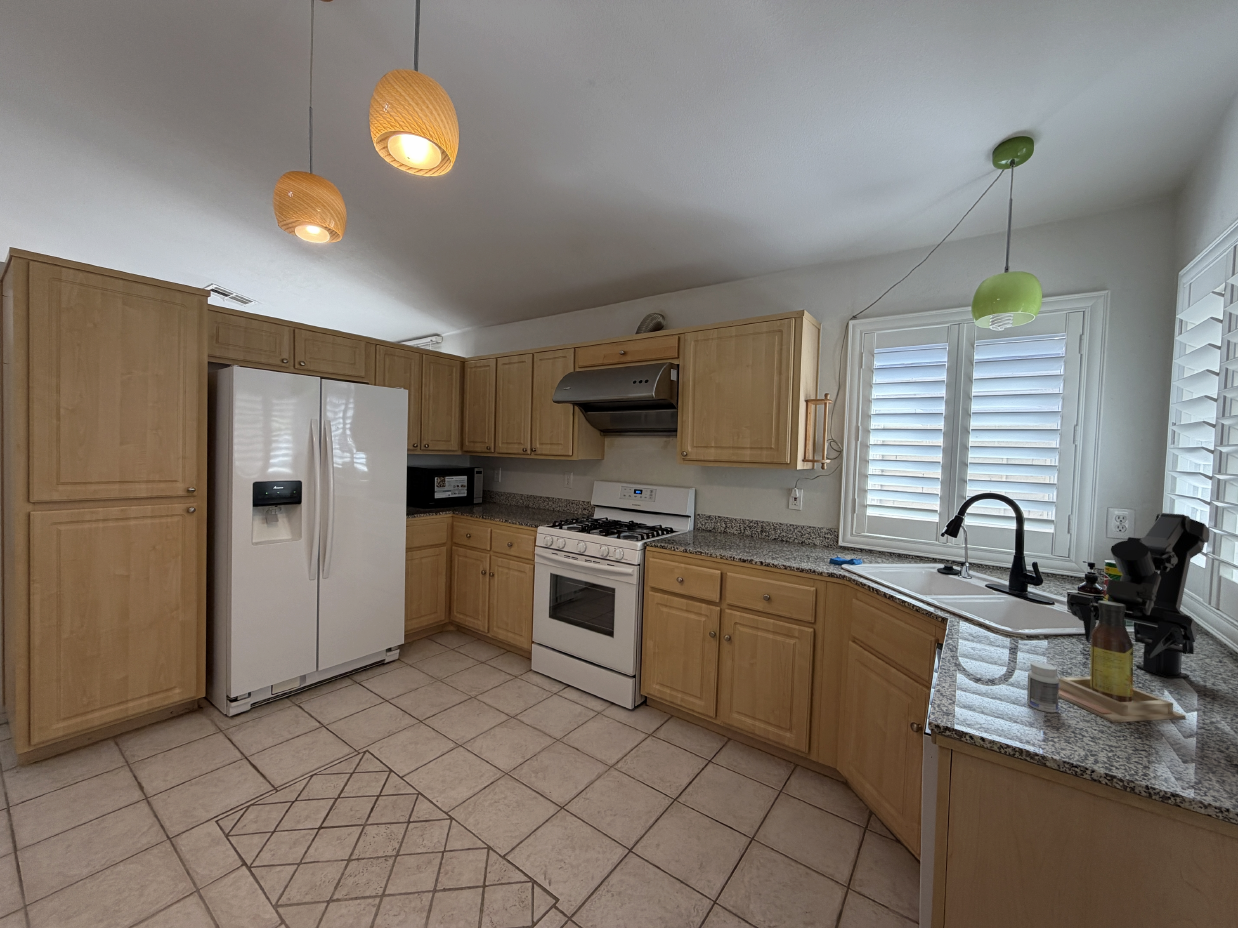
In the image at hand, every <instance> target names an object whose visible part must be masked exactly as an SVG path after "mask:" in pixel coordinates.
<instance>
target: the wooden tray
mask: <svg viewBox="0 0 1238 928" xmlns="http://www.w3.org/2000/svg"><path fill="white" fill-rule="evenodd" d="M1057 678H1058V680H1059V698H1060V699H1061V700H1064V701H1066V702H1068V703H1070V704H1073V705H1075V706H1077V707H1079V708H1081V709H1084V710H1086V711H1088V712H1090V713H1092V714H1094V715H1096V716H1098V717H1101V718H1103V719H1105V720H1106V721H1110V722H1111V723H1125V722H1128V723H1129V722H1142V721H1143V722H1145V721H1158V720H1175V719H1177V720H1178V719H1186V714H1183V713H1180V712H1177V711H1175V710H1174V702H1171V701H1169V700H1167V699H1163V698H1161V697H1159V696H1156V695H1154V694H1151V693H1148V692H1145V691H1143V690H1141V689H1138V688H1135V687H1133V696H1132V702H1119V701H1116V700H1114V699H1111V698H1109V697H1107V696H1104V695H1102V694H1100V693H1097V692H1095V691H1093V690H1091V688H1092V687H1091V686H1090V676H1068V677H1057Z"/></svg>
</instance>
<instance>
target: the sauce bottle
mask: <svg viewBox="0 0 1238 928" xmlns="http://www.w3.org/2000/svg"><path fill="white" fill-rule="evenodd" d="M1097 604H1098V608H1099V614H1098V622H1097V624H1096V626H1095V628H1094V629H1093V630H1092V633H1091V641H1090V642H1091V643H1090V674H1089V675H1090V676H1089V677H1090V686H1091V687H1092V688H1091V690H1093V691H1095V692H1097V693H1100V694H1102V695H1104V696H1107V697H1109V698H1111V699H1114V700H1116V701H1119V702H1132V696H1133V688H1134V644H1133V642H1132V639H1131V636H1130V635H1129V632H1128V629H1127V628H1126V624H1125V620H1124V613H1125V611H1126V606H1125V605H1124V604H1121V603H1116V602H1110V601H1108V600H1098V601H1097Z"/></svg>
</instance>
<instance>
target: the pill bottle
mask: <svg viewBox="0 0 1238 928" xmlns="http://www.w3.org/2000/svg"><path fill="white" fill-rule="evenodd" d="M1029 666H1030V671H1028V672H1027V688H1026V689H1027V690H1026V693H1027V695H1026V700H1027V701H1026V702H1027V704H1028V705H1029V706H1030V707H1031V708H1034V709H1036V710H1039V711H1042V712H1047V713H1057V712H1058V711H1059V700H1060V699H1059V698H1060V697H1059V680H1058V678H1059V677H1057V675H1058V668H1057V667H1056V666H1055V665H1052V664H1050V663H1045V662H1042V661H1040V662H1039V661H1031V662H1030V665H1029Z"/></svg>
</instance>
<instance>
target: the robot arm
mask: <svg viewBox="0 0 1238 928" xmlns="http://www.w3.org/2000/svg"><path fill="white" fill-rule="evenodd" d="M1209 541H1210V530H1209V528H1208V527H1207V525H1206V523H1204V522H1201V521H1199V520H1196V519H1192V518H1191V517H1190V516H1189V515H1186V514H1181V513H1167V512H1161V513H1157V515H1156V517H1155V519H1154V523H1153V524H1152V526H1151V527H1150V528H1149V529H1148V531H1147V533H1146V534H1145V535H1144V537H1133V536H1132V537H1131V536H1129V537H1127V540H1123V541H1122V540H1121V541H1118V542H1116V543H1115V544H1113V545H1111V548H1110V553H1111V556H1112V557H1113V561H1114V563H1115V567H1116V569H1117V571H1118V572H1119V573H1121V576H1120V579H1119V580H1116V579H1111V578H1110V579H1107V582H1106V589H1105V595H1107V600H1106V601H1110V602H1116V603H1121V604H1124V605H1125V606H1126V611H1125V613H1124V621H1128V622H1133V633H1134V634H1133V635H1134V643H1137V644H1139V643H1140V644H1143V646H1144V647H1143V652H1142V653H1143V656H1142V657H1143V658H1142V663H1141V664H1140V663H1139V664H1135V667H1136V668H1138V669H1141V670H1143V671H1146V672H1150V673H1153V674H1156V675H1159V676H1161V677H1164V678H1167V679H1179V678H1182V679H1183V678H1190V674H1188V673H1184V672H1182V662H1183V661H1182V658H1183V656H1182V655H1195V643H1196V641H1197V637H1198V629H1197V627H1196V622H1195V620H1194V618H1193V617H1192V616H1191V615H1186V614H1181V612H1180V611H1181V605H1182V601H1183V597H1184V593H1185V589H1186V588H1185V587H1186V583H1187V578H1188V574H1189V569H1190V563H1191V559H1192V558H1194V557H1195V556H1197V555H1199V554H1200V553H1202V552H1203V550H1204V547H1205V545H1206V544H1205V543H1208V542H1209ZM1157 571H1158V572H1157ZM1066 603H1067V605H1068V608H1069V610H1070V613H1071V615H1072V616H1074V617H1076V618H1077V619H1078V620H1079V621H1082V622H1083V630H1084V635H1085V636H1084V637H1085V641H1086V643H1090V642H1091V633H1092V630H1093V629H1094V628H1095V627H1096V626H1097V624H1098V622H1097V620H1096V619H1097V617H1099V608H1098V603H1096V600H1095V597H1093V596H1089V595H1083V594H1078V593H1071V594H1070V595H1068V596H1067V599H1066Z"/></svg>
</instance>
